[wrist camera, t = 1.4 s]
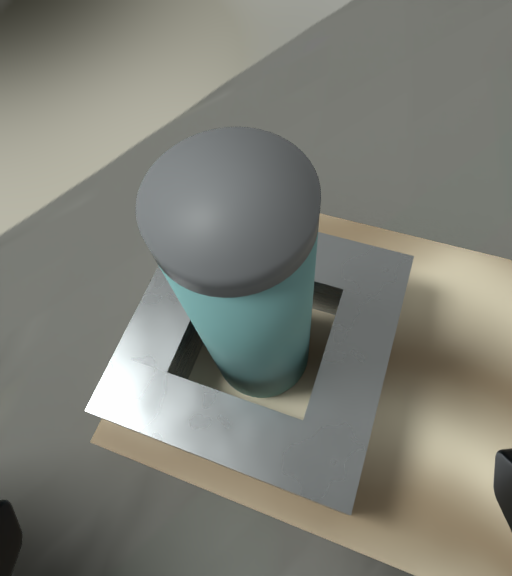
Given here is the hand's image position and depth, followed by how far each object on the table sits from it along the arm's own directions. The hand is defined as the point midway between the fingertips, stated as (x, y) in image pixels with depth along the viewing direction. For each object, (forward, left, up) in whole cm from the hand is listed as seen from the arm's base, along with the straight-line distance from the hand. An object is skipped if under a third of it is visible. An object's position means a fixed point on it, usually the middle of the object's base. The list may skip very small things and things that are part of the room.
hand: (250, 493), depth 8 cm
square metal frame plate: (+6, +3, -11) cm, 13 cm away
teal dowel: (+6, +3, -11) cm, 13 cm away
